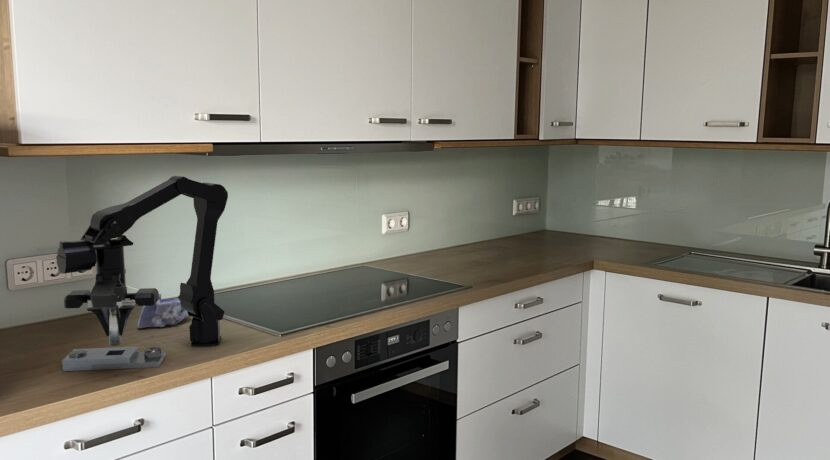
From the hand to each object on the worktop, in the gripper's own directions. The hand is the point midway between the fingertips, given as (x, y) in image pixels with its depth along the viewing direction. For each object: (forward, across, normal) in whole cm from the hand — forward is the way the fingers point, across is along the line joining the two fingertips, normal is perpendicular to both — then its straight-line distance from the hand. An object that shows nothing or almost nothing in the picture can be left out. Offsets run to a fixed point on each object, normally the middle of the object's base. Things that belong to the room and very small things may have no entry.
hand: (114, 335), depth 157 cm
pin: (+2, 0, 0) cm, 2 cm away
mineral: (+7, +4, +31) cm, 32 cm away
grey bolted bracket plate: (+6, 0, 0) cm, 7 cm away
